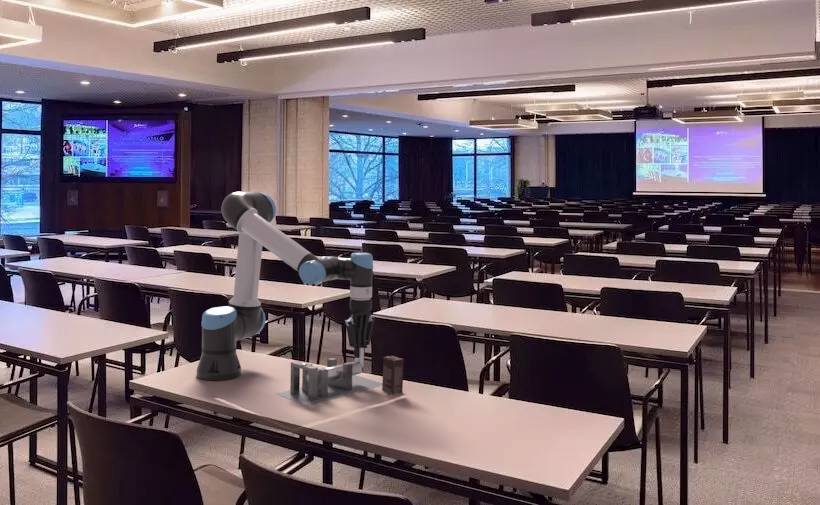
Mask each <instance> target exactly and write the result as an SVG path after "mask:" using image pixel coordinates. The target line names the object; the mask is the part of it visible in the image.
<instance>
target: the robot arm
mask: <svg viewBox="0 0 820 505" xmlns="http://www.w3.org/2000/svg"><path fill="white" fill-rule="evenodd" d="M220 208H221V209H220V210H221V214H222V217H223V219H224V221H225V222H227V224H228V225H229V226H231V228H233V229H234V230H235V231H237V232H238V233H239V234H238V244H237V245H238V246H237V253H236V254H237V256H236V267H235V277H234V287H233V289H234V290H233V296H232V297H231V299H229V300H228V306H227V305H226V306H225V305H223V306H217V307H216V306H215V307H211V308H209V309H206V310H205V311H204V312H203V313H202V315H201V356H200V358H199V362H198V364H197V367H196V377H197V378H198V379H201V380H205V381H224V380H225V381H226V380H232V379H235V378H239V377H240V376H241V375H242V366H241V364H240V360H239V357H238V355H237V342H238V341H241V340H244V339H247V338H252V337H253V336H256V335H258V334H259V333H260V332H262V330H263V328H264V327H265V325H266V314H265V312H264V309H263V308H262V302H261V301H260V300H259V298H258V294H259V285H260V274H261V264H262V256H263V254H262V253H263V247H264V248H266V250H268V251H270V253H272V254H273V255H275V256H276V257H277V258H279V259H280V260H282V261H283V262H284V263H285V264H287V265H288V266H290V267H291V268H292V269H294V270H295V271H297V272H298V276H299V277H300V280H301V281H302V282H303V283H305V284H308V285H318V284H320V283H325V282H328V281H333V280H345V281H349V283H350V286H349V297H350V299H349V309H350V315H349V318H348V319H345V320H344V325H345V327H346V332H347V338H348V344H349V345H348V346H349V347H351V348H353V357H354V362H355V361H359V362H360V363H361V365H362V368H364V365H365V364H364V357H365V356H366V354H365V353H366V349H368V347H369V345H370V344H371V339H372V335H373V329H374V323H375V322H376V320H377V318H376V316H373V315H372V312H371V310H372V308H373V300H372V299H371V298H373V274H374V273H373V272H374V259H373V255H372V253H369V252H352V253H351V254H350V257H340V256H333V255H332V256H331V255H329V256H327V255H326V256H325V255H324V256H321V257H320V258H319V257H317V256H316V255H314V254H313V253H312V252H310V251H309V250H307V249H306V248H305V247H303V246H302V245H300V244H299V243H298V242H297V241H295V240H294V239H292V238H291V237H290V236H288V235H287V234H285V233H284V231H283V232H282V231H281V230H280V229H279V228H277V227H276V226H274V225H273V224H272V223H271V222H273V220H274V219H275V217H276V214H277V207H276V204H275V200H274V199H273V198H272V197H271V196H270V195H269V194H267V193H265V192H261V191H235V192H234V191H233V192H231V193H229V194H228V195H227V196H225V197H224V199H223V201H222V203H221V206H220Z"/></svg>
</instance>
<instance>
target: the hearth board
mask: <svg viewBox="0 0 820 505" xmlns="http://www.w3.org/2000/svg"><path fill="white" fill-rule="evenodd" d="M378 387H382V382H380V381H376V380H373V379H369V378H366V377H363V376H359V375H358V374H357V375H353V376H352V390H349V391H345V390H342V389H339V388H336V387H332V386H329V385H328V396H327V397H323V398H321V397H318V396H317V400H313V401H310V400H308V393H307V392H304V391H302V386H301V387H300V388H299V393H297V394H291V393H290V390H286V391H281V392H277V393H276V395H277V396H280V397H283V398H286V399H287V400H288V399H289V400H290V401H293V402H296V403H299V404H302V405H304V406H307V407H308V406H311V405H316V404H319V403H323V402H327V401H330V400H333V399H338V398H341V397H345V396H349V395H352V394H355V393H360V392H364V391H367V390H370V389H374V388H378Z"/></svg>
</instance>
